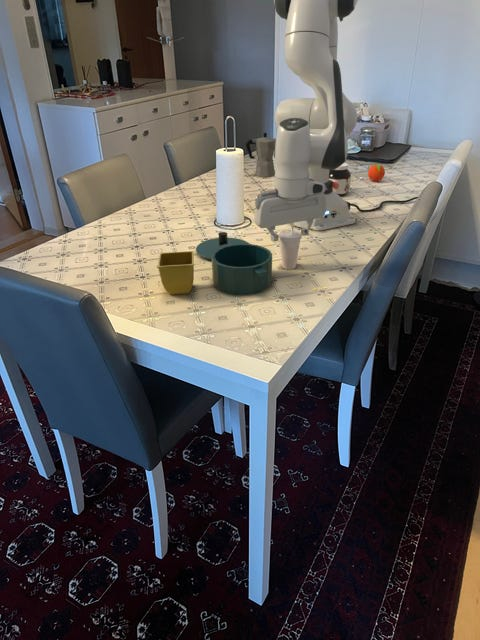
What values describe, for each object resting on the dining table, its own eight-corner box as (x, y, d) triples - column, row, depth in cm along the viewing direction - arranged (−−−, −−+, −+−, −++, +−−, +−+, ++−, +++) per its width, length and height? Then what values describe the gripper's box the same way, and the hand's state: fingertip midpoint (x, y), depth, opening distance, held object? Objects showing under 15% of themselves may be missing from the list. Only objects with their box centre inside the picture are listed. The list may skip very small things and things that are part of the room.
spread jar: (336, 199, 189) (338, 168, 183) (313, 192, 197) (315, 163, 191) (355, 192, 196) (358, 162, 190) (333, 186, 204) (335, 158, 197)
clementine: (386, 184, 205) (388, 166, 202) (369, 184, 205) (371, 167, 202) (381, 178, 212) (383, 162, 208) (365, 179, 212) (367, 162, 209)
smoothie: (299, 271, 135) (301, 223, 128) (276, 270, 136) (277, 222, 129) (301, 262, 140) (303, 215, 133) (279, 260, 141) (280, 214, 134)
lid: (234, 237, 158) (233, 220, 155) (261, 254, 146) (261, 236, 143) (187, 248, 151) (185, 230, 148) (211, 267, 139) (210, 248, 136)
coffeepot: (276, 170, 228) (276, 129, 218) (282, 175, 220) (282, 133, 210) (243, 173, 225) (243, 132, 216) (248, 178, 217) (248, 136, 208)
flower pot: (163, 283, 131) (159, 252, 126) (196, 281, 131) (193, 250, 127) (161, 299, 123) (157, 266, 119) (196, 297, 124) (193, 264, 119)
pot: (247, 260, 142) (247, 236, 138) (289, 289, 126) (289, 262, 122) (199, 273, 135) (197, 248, 132) (236, 305, 120) (235, 277, 116)
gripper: (261, 195, 120) (261, 248, 127) (331, 184, 127) (327, 235, 135) (249, 189, 125) (250, 240, 132) (317, 179, 132) (314, 228, 139)
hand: (289, 237), depth 133 cm, fingers open, 8 cm apart
